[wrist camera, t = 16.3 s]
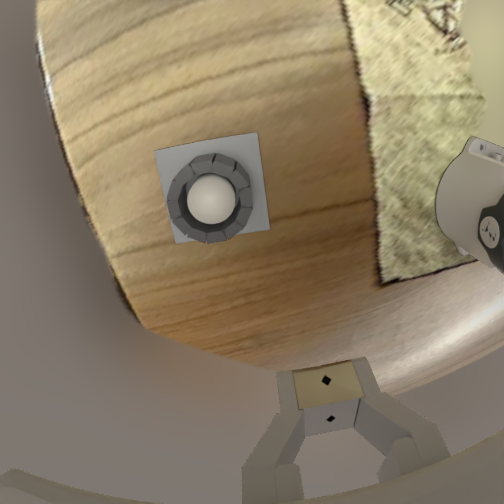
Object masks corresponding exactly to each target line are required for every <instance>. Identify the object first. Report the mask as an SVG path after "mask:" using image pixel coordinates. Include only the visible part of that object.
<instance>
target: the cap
mask: <svg viewBox="0 0 504 504" xmlns="http://www.w3.org/2000/svg"><path fill="white" fill-rule="evenodd" d="M187 204H188V208H189V211H190V212H191V214H192V215H193V216H194V217H195V218H196V219H197V220H199V221H201V222H203V223H207V224H216V223H220V222H222V221H224V220H226V219H227V218H228V217H229V216H230V215H231V213H232V212H233V210H234V206H235V186H234V184H233V183H232V182H231V181H230V180H229V178H227V177H224V176H221V175H218V174H216V173H213V172H210V173H204V174H201V175H199V176H198V178H197V179H196V180H195V182H194V184H193V186H192V187H191V189H190V191H189V193H188V197H187Z"/></svg>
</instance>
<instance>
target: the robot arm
mask: <svg viewBox="0 0 504 504" xmlns="http://www.w3.org/2000/svg"><path fill="white" fill-rule="evenodd" d="M436 216H437V220H438V223H439V226H440V228H441V230H442V232H443V233H444V234H445V235H446V236H447V237H448V238H449V239H451V240H452V241H453V242H454V243H455V245H456V248H457V250H458V252H459V253H460V254H462V255H464V256H466V255H469V254H471V255H472V256H473V257H475V258H476V259H478V260H479V261H481V262H482V263H484V264H485V265H487V266H488V267H490V268H493V267H495V266H496V267H497V269H498V270H499V271H500V272H501V273H503V274H504V148H503V147H501V146H498V145H496V144H493V143H491V142H488V141H485V140H483V139H480V138H477V137H471V138H470V139H469V140H468V142H467V144H466V146H465V148H464V150H463V152H462V153H461V154H460V155H459V156H458V157H457V158H456V159H455V160H454V161H453V162H452V163H451V164H450V165H449V167H448V168H447V170H446V171H445V173H444V175H443V177H442V179H441V182H440V184H439V188H438V192H437V197H436ZM276 378H277V386H278V393H279V402H280V409H281V413H277V414H276V415H275V417H274V418H273V420H272V422H271V423H270V425H269V426H268V428H267V430H266V431H265V433H264V434H263V436H262V437H261V439H260V440H259V442H258V444H257V445H256V447H255V448H254V450H253V451H252V453H251V454H250V456H249V457H248V459H247V460H246V462H245V463H244V465H243V466H242V504H504V429H502V430H500V431H499V432H497V433H495V434H494V435H492V436H490V437H488V438H486V439H484V440H483V441H481V442H479V443H477V444H475V445H473V446H471V447H469V448H467V449H465V450H463V451H461V452H459V453H457V454H455V455H453V456H450V453H449V451H448V449H447V447H446V444H445V442H444V440H443V437H442V435H441V433H440V430H439V428H438V426H437V425H436V424H435V423H433V422H431V421H430V420H428V419H426V418H425V417H423V416H422V415H420V414H419V413H417V412H416V411H414V410H412V409H410V408H409V407H407V406H406V405H404V404H403V403H401V402H400V401H398V400H397V399H395V398H394V397H392V396H391V395H389V394H388V393H386V392H383V393H381V391H380V389H379V386H378V384H377V382H376V379H375V377H374V374H373V372H372V370H371V367H370V365H369V363H368V360H367V358H366V357H360V358H356V359H351V360H345V361H340V362H336V363H331V364H326V365H321V366H317V367H310V368H303V369H296V370H289V371H281V372H276ZM353 427H354V429H355V430H356V431H357V432H358V433H359V434H361V435H362V436H363V437H364V438H365V439H366V440H367V441H368V442H370V443H371V444H372V445H373V446H374V447H375V448H376V449H378V450H379V451H380V452H381V453H382V454H383V455H384V456H386V458H385V460H384V461H383V463H382V465H381V467H380V468H379V470H378V472H377V475H378V479H379V483H377V484H373V485H370V486H366V487H363V488H359V489H355V490H350V491H346V492H342V493H337V494H333V495H328V496H322V497H317V498H311V499H304V493H303V486H302V480H301V473H300V467H299V466H298V465H296V464H294V463H293V462H294V460H295V458H296V456H297V454H298V452H299V450H300V447H301V445H302V443H303V441H304V439H305V437H307V436H312V435H317V434H322V433H327V432H332V431H337V430H342V429H348V428H353ZM0 504H163V503H154V502H146V501H138V500H132V499H125V498H120V497H114V496H109V495H104V494H99V493H95V492H91V491H86V490H82V489H78V488H75V487H71V486H68V485H64V484H61V483H57V482H54V481H51V480H48V479H45V478H42V477H39V476H36V475H33V474H30V473H28V472H25V471H23V470H20V469H16V468H11V469H9V470H7V471H6V472H4V473H3V474H2V475H1V476H0Z"/></svg>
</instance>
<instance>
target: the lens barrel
mask: <svg viewBox="0 0 504 504" xmlns="http://www.w3.org/2000/svg"><path fill="white" fill-rule="evenodd" d="M154 153H155V158H156V163H157V167H158V172H159V176H160V181H161V185H162V189H163V194H164V198H165V202H166V206H167V210H168V214H169V218H170V222H171V226H172V230H173V234H174V238H175V242H176V243H182V242H188V241H195V240H197V241H200V242H203V243H206V240H207V243H214V242H221V241H227V238H228V240H229V239H230V238H232V237H233V236H235V235H236V234H242V233H249V232H256V231H263V230H270V225H269V217H268V209H267V202H266V194H265V186H264V179H263V172H262V164H261V157H260V150H259V143H258V135H257V132H255V133H248V134H241V135H234V136H228V137H222V138H216V139H210V140H204V141H199V142H194V143H188V144H183V145H178V146H174V147H169V148H164V149H160V150H155V151H154ZM210 172H213V173H216V174H218V175H221V176H224V177H227V178H229V180H230V181H231V182H232V183H233V184H234V186H235V206H234V210H233V212H232V213H231V215H230V216H229V217H228V218H227V219H226V220H224V221H222V222H220V223H216V224H207V223H203V222H201V221H199V220H197V219H196V218H195V217H194V216H193V215H192V214H191V212H190V211H189V208H188V204H187V197H188V193H189V191H190V189H191V187H192V186H193V184H194V182H195V180H196V179H197V178H198V176H199V175H201V174H204V173H210Z"/></svg>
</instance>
